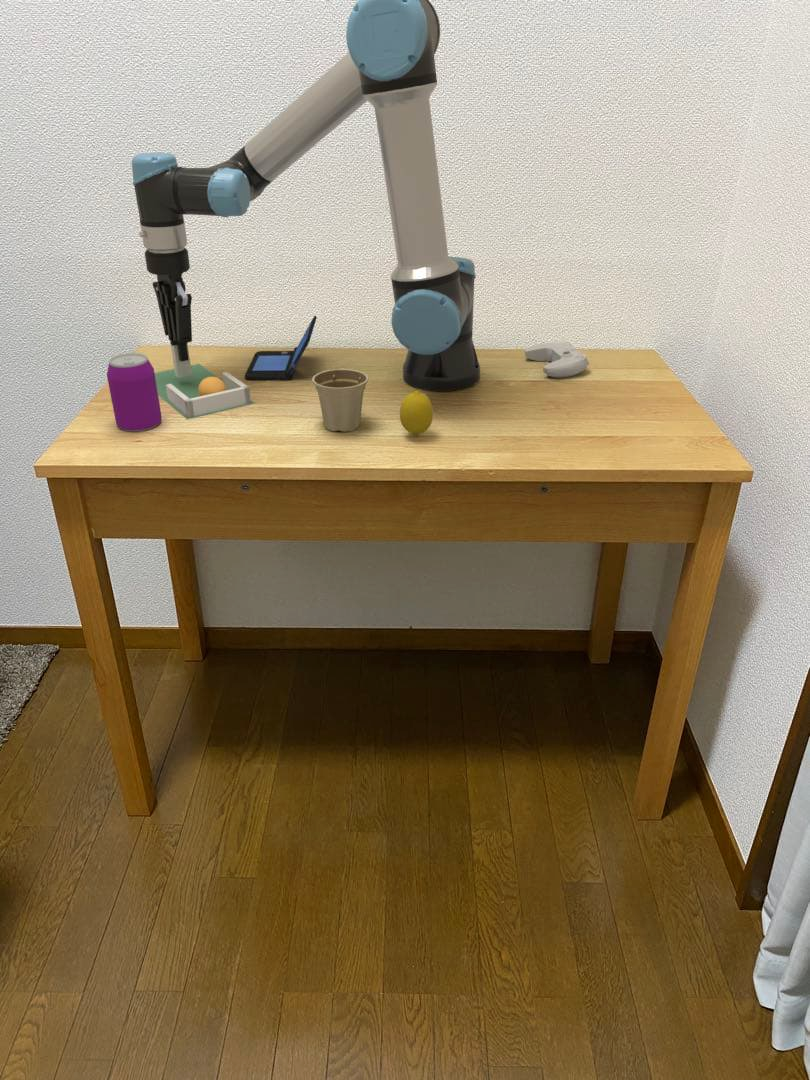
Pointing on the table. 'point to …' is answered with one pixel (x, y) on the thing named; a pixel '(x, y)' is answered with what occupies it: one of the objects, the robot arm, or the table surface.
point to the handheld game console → (278, 361)
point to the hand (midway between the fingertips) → (183, 375)
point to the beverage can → (133, 392)
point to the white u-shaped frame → (211, 398)
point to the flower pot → (341, 397)
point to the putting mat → (185, 385)
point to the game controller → (558, 358)
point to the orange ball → (211, 386)
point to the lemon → (416, 413)
